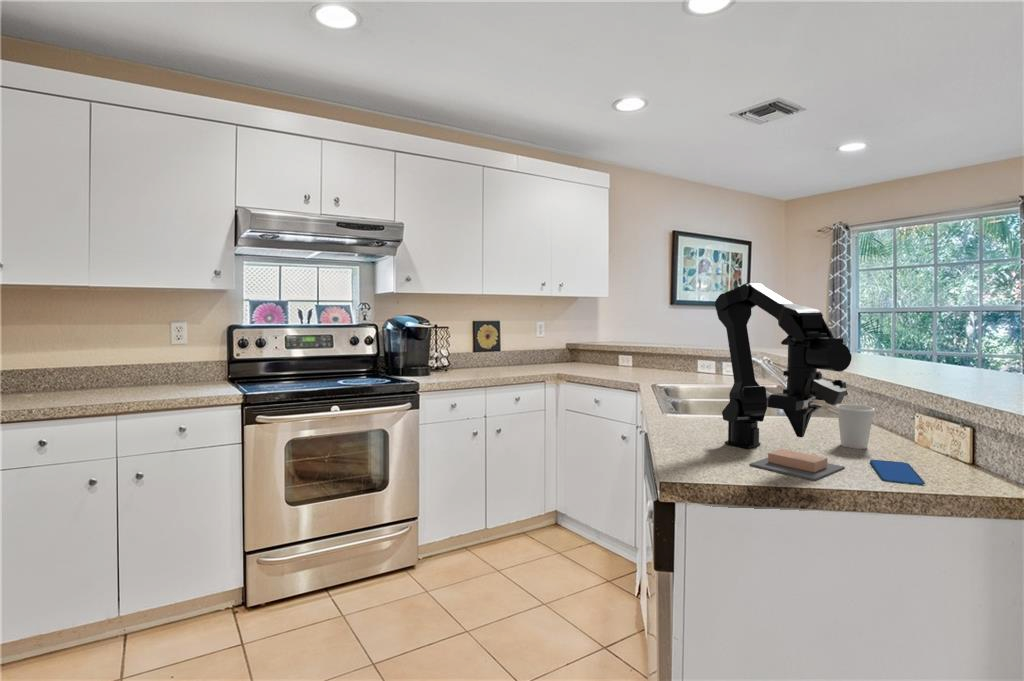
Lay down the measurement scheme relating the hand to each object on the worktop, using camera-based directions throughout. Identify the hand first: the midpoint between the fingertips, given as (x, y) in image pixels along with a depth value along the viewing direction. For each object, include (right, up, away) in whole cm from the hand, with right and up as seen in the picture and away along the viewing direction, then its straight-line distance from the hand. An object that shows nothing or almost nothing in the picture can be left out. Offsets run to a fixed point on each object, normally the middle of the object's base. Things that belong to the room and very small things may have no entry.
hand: (800, 437), depth 122 cm
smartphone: (+18, -7, -5) cm, 20 cm away
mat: (-1, -7, 0) cm, 7 cm away
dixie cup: (+23, -6, +18) cm, 30 cm away
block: (+2, -5, +2) cm, 5 cm away
